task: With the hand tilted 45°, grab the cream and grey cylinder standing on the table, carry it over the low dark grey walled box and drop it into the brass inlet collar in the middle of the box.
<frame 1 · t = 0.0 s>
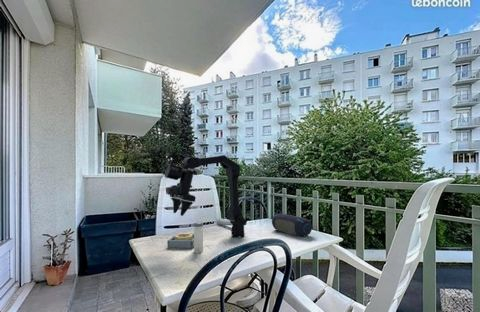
hand: (178, 214, 123), 15 cm above the table, tool pointing down, fingers open, 9 cm apart
walled box: (183, 244, 127), on the table
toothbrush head: (229, 228, 163), on the table
cream and grey cylinder: (198, 251, 116), on the table
portable speaker: (290, 233, 146), on the table
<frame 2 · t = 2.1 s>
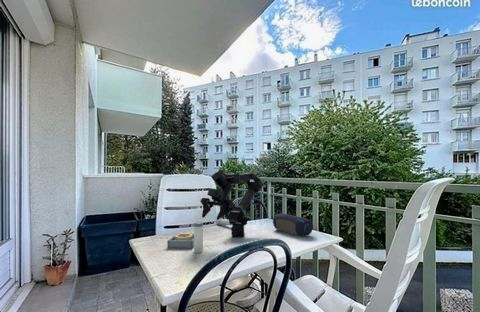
hand: (209, 218, 123), 13 cm above the table, tool tilted 45°, fingers open, 9 cm apart
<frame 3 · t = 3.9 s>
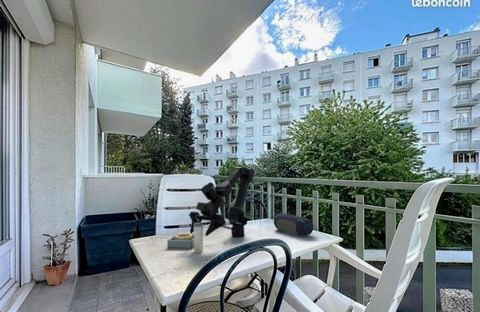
hand: (198, 234, 116), 8 cm above the table, tool tilted 45°, fingers open, 9 cm apart
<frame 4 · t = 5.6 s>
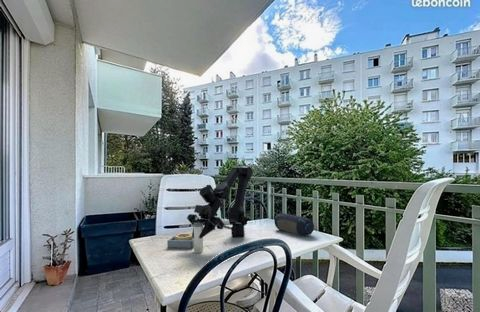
hand: (196, 237, 115), 7 cm above the table, tool tilted 45°, fingers closed on cream and grey cylinder, 4 cm apart
cream and grey cylinder: (198, 251, 116), on the table, touching gripper
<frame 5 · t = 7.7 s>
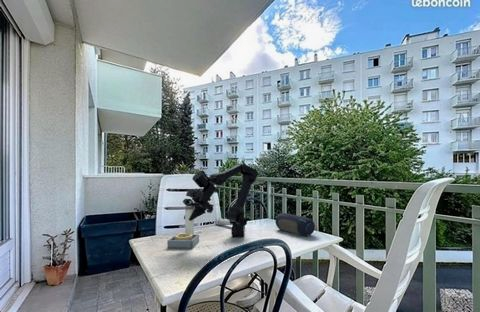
hand: (186, 219, 120), 13 cm above the table, tool tilted 45°, fingers closed on cream and grey cylinder, 4 cm apart
cream and grey cylinder: (189, 233, 121), point 7 cm above the table, touching gripper
when the fingers open (9 cm above the table, at t = 10.1 s): cream and grey cylinder drops 2 cm, resting on walled box.
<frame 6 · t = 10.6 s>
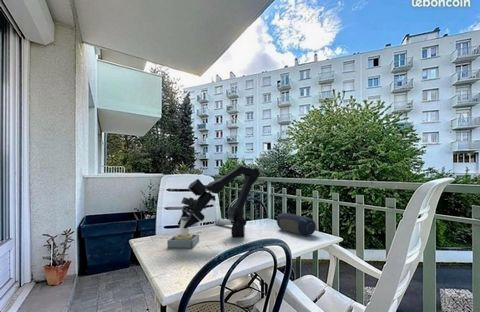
hand: (181, 226, 127), 9 cm above the table, tool tilted 45°, fingers open, 9 cm apart
cream and grey cylinder: (184, 243, 127), point 1 cm above the table, touching walled box
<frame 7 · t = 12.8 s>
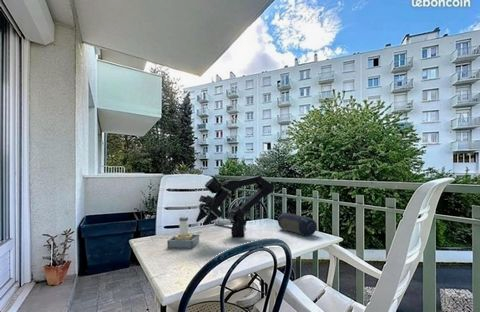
hand: (199, 223, 132), 9 cm above the table, tool tilted 45°, fingers open, 9 cm apart
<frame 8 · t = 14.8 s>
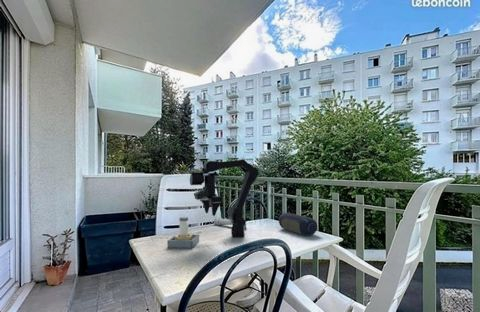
hand: (210, 214, 136), 13 cm above the table, tool pointing down, fingers open, 9 cm apart
at the end: cream and grey cylinder 0.0 cm off-centre on the walled box, point 0.5 cm above the walled box's base; cream and grey cylinder tilted 1°; the gripper is holding nothing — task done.
